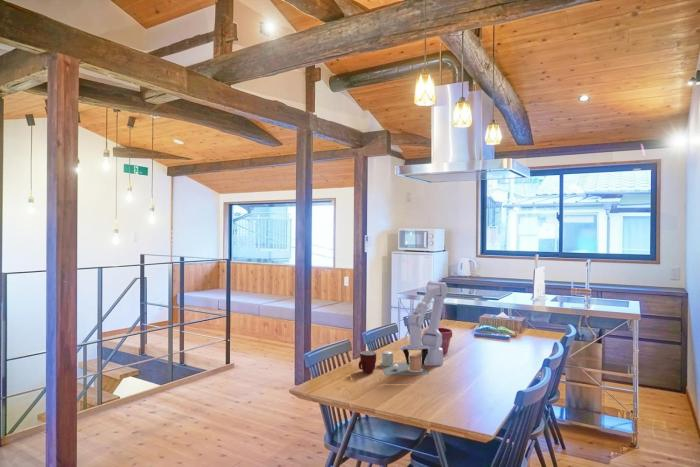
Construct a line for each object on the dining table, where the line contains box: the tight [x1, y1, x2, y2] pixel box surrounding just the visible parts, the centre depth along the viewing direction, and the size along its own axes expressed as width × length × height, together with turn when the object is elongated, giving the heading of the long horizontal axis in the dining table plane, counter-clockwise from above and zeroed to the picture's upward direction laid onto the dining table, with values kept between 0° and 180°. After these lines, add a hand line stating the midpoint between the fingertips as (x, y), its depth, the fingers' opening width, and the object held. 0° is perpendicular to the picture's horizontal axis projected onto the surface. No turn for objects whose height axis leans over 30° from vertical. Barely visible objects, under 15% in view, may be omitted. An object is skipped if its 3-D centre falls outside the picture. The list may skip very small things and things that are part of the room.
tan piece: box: [409, 354, 422, 371], centre depth 229 cm, size 6×6×6 cm
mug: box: [358, 350, 377, 374], centre depth 225 cm, size 11×8×10 cm
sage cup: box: [381, 350, 394, 366], centre depth 237 cm, size 6×6×6 cm
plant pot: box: [430, 327, 453, 354], centre depth 266 cm, size 14×14×13 cm
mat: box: [379, 362, 430, 376], centre depth 231 cm, size 22×20×1 cm
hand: (415, 364), depth 229 cm, fingers open, 7 cm apart
